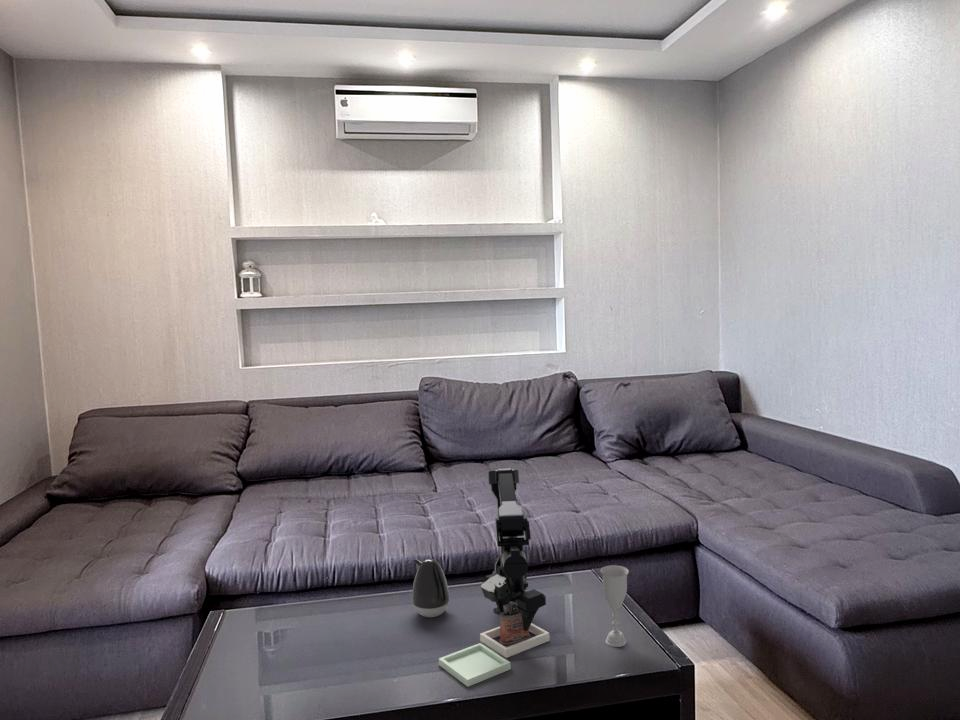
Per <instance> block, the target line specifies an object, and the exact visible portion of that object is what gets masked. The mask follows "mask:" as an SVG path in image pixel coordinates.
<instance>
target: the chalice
mask: <svg viewBox="0 0 960 720" xmlns="http://www.w3.org/2000/svg"><path fill="white" fill-rule="evenodd" d="M600 573H601V575H602V592H603V595H604V597H605V600H606V602H607V604H608V606H609V608H612V610H613V611H612V615H611V616H612V618H613V621H612V622H611V624H613V629H612V630H610V631H609V632H608V633H607V637H606V639H605V644H607V645H608V646H610V647H615V648H620V647H623V646H625V645H626V644H627V641H626V639H625V637H624V634H623V632H622V631H621V630H619V629H618V626H619V624H620V622H619V621H618V617H619V613H618V609H620V608H621V607H622V605H623V602H624V600H625V598H626V595H627V593H628V592H627V591H628V579H627V578H628V574H629V569H628V568H627V567H625V566H622V565H616V564H614V565H611V564H610V565H606V566H603V567H601V569H600Z"/></svg>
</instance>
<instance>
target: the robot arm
mask: <svg viewBox="0 0 960 720" xmlns="http://www.w3.org/2000/svg"><path fill="white" fill-rule="evenodd" d="M519 477H520V475H519V469H515V468H514V467H506V468H505V467H504V468H502V467H501V468H492V469H491V470H490V471H488V472H487V485H488V486H490V492H491V494H492V496H493V497H494V499H495V500H496V505H497V517H495V521H494V522H495V536H496V546H497V547H499V556H498V558H497V560H496V562H495V564H494V570H493V571H492V573H491V574H488V575H485V576H484V578H483V579H482V583H481V585H480V588H481V591H482V593H483V596H484V598H485V599H488V600H489V601H490V602H492V603H495V604H496V607H495V608H493V609H492V610H493V612H494V613H497V614H498V615H499V614H500V613H502V612H504V610H503V605H507V604H509V602H511V601H512V602H516V601H517V604H518V606H519V607H517V608H518V609H519V610H520V611H521V613H522V623H523V629H524V631H527V630H528V629H529V627H530V625H531V623H532V622H533V620H534V618H535V616H536V615H537V612H538V611H539V609H540V608H542V607H544V606H546V605H547V597H546V595H545V594H544V593H542V592H540V591H538V590H536V589H534V588H533V589H531V590H528V591H526V590H527V588H529V582H528V581H527V578H528V576H527V573H528V571H529V570H528V569H529V564H528V560H527V556H526V553H525V550H524V546H529V545H530V542H529V540H530V541H531V530H530V529H531V527H530V521H529V520H528V518H527V516H525V515H524V510H523V508H522V506H520V505H519V504H518V503H517V497H516V496H517V495H516V491H517V485H519V484H520V478H519Z"/></svg>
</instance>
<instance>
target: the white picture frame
mask: <svg viewBox="0 0 960 720" xmlns="http://www.w3.org/2000/svg"><path fill="white" fill-rule="evenodd" d="M529 632H530V633H531V634H533V635H535V636H533V637H531V638H530V639H527V640H525V641H522V642H520V643H517V644H514V645H512V646H506V647H505V646H503V645H501V644H500V642H498V641H497V640H496V639H495V638H497V637H501V636H500V626H497V627H494V628H492V629H490V630H486V631H483V632H481V633H479V637H480V638H479V641H480V643H481V644H483V645H485V646H486V647H488V648H489V649H491V650H492V651H494V652H495V653H497V654H498V655H500V656H501V657H503V658H504V659H507V658H509V657H512V656H515V655H518V654H520V653H522V652H524V651H527V650H529V649H533V648H535V647H537V646H539V645H543V644H545V643H548V642H550V632H548V631H547V630H545V629H543V628H542V627H540V626H537V625H536V624H534V623H532V622H531V625H530V627H529Z"/></svg>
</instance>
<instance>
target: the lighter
mask: <svg viewBox="0 0 960 720" xmlns="http://www.w3.org/2000/svg"><path fill="white" fill-rule="evenodd" d="M517 607H519V606H518V604H517V601H516V602H512V601H511V602H509V604H507V605H503V610H504V612H502V613H500V614H498V618H499V627H500V636H499V637H500V639H499V643H500V644H501V645H503V646H505V647H506V648H507V647H509V646H512V645H514V644H517V643H520V642H522V641H525V640H527V639H530V633H529V629H528V630H527V631H524V629H523V623H522V613H521V611H520V610H519V609H518V608H517Z"/></svg>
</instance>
